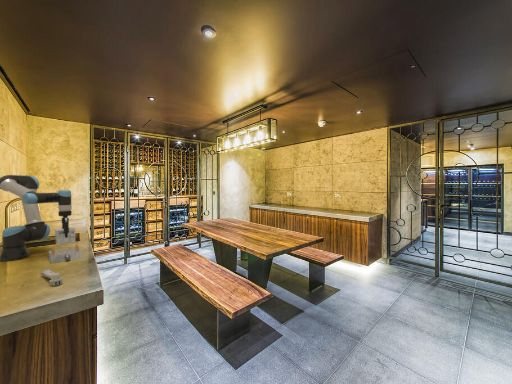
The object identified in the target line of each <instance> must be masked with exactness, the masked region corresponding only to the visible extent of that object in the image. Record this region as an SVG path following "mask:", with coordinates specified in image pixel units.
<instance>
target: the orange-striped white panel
mask: <svg viewBox="0 0 512 384" xmlns="http://www.w3.org/2000/svg"><path fill="white" fill-rule="evenodd" d="M47 253H48V259H49V263H50V264H57V263H61V262H68V261H73V260H79V259H83V258H84V251H83V250H82V249H81V247H80V246H79V245H78V244H76V243H75V245H74V246H71V247H66V248H65V247H64V248H58V249H55V247H51V250H48V252H47Z"/></svg>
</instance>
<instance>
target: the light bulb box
mask: <svg viewBox="0 0 512 384" xmlns="http://www.w3.org/2000/svg"><path fill="white" fill-rule="evenodd" d="M54 231H55V244H56V245H57V246H59V245H66V244H72V243H76V228H75V227H69V242H64V233H63V232H64V229H62V228H59V229H54Z"/></svg>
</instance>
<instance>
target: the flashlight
mask: <svg viewBox="0 0 512 384" xmlns="http://www.w3.org/2000/svg"><path fill="white" fill-rule="evenodd" d="M40 275H41V276H42V277H44V278H48V279H50V280H49V281H48V282H49V283H50V285H49V286H50V287H52V286H54V287H55V286H59V285H62V283H63V277H62V276H61V273H60V272H56V273H55V272H54V271H52V270H51V269H49V268H46V269H43V270H42V271H41V273H40Z"/></svg>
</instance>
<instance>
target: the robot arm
mask: <svg viewBox="0 0 512 384" xmlns="http://www.w3.org/2000/svg"><path fill="white" fill-rule="evenodd" d="M39 188H40V181H39V180H38V178H37V177H35V176H33V175H29V174H28V175H27V174H26V175H19V174H8V175H3V176H1V177H0V190H2V191H3V192H9V193H11V194H13V195H15V196H17V197H19V198H20V200H21V205H22V208H23V213H24V217H25V220H26V223H25V224H24V225H14V226H10V227H6V228H4V229H3V230H2V233H1V236H2V238H1V239H2V242H1V244H2V249H1V252H0V262H12V261H18V260H23V259H26V258H28V257H30V253H29V251H28V249H27V247H26V246H27V245H26V243H28V242H33V241H41V240H44V239H47V238H48V237H49V236H50V233H51V227H50V225H49V224H47V223H45V221H44V220H42V217H41V214H40V208H39V204H52V203H55V204H56V203H58V206H57V207H56V208H58V217H61V225H62V226H61V229H64V232H63V233H64V242H69V228H70V227H69V225H70V224H69V223H70V222H69V220H70V218H69V217H70V216H72V208H73V207H72V196H73V195H72V190H69V189H65V190H64V189H63V190H61V189H60V190H58V191H57V192H37V191H38V189H39Z"/></svg>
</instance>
